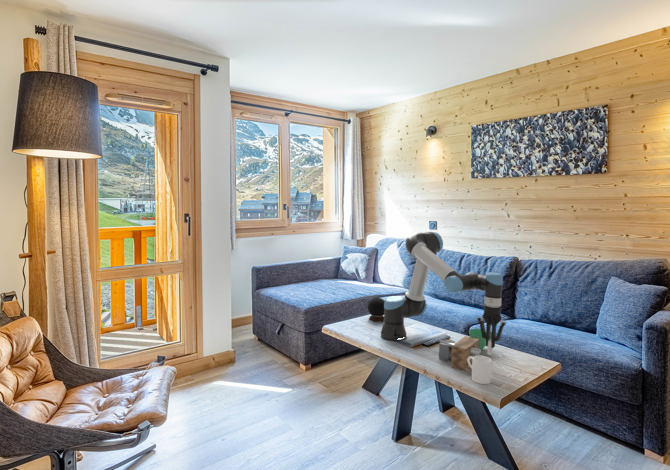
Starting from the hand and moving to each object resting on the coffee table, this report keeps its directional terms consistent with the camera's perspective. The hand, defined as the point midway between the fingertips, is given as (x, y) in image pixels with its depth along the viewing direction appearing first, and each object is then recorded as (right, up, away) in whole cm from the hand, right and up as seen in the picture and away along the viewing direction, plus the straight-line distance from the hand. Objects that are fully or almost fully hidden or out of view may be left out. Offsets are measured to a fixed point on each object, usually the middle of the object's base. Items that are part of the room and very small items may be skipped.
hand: (489, 353), depth 187 cm
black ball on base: (-46, -1, +79) cm, 91 cm away
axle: (-12, -2, +9) cm, 15 cm away
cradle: (-17, -6, +13) cm, 22 cm away
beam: (-10, -7, +7) cm, 14 cm away
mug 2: (-10, -8, -10) cm, 16 cm away
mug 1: (+5, -6, +26) cm, 27 cm away
